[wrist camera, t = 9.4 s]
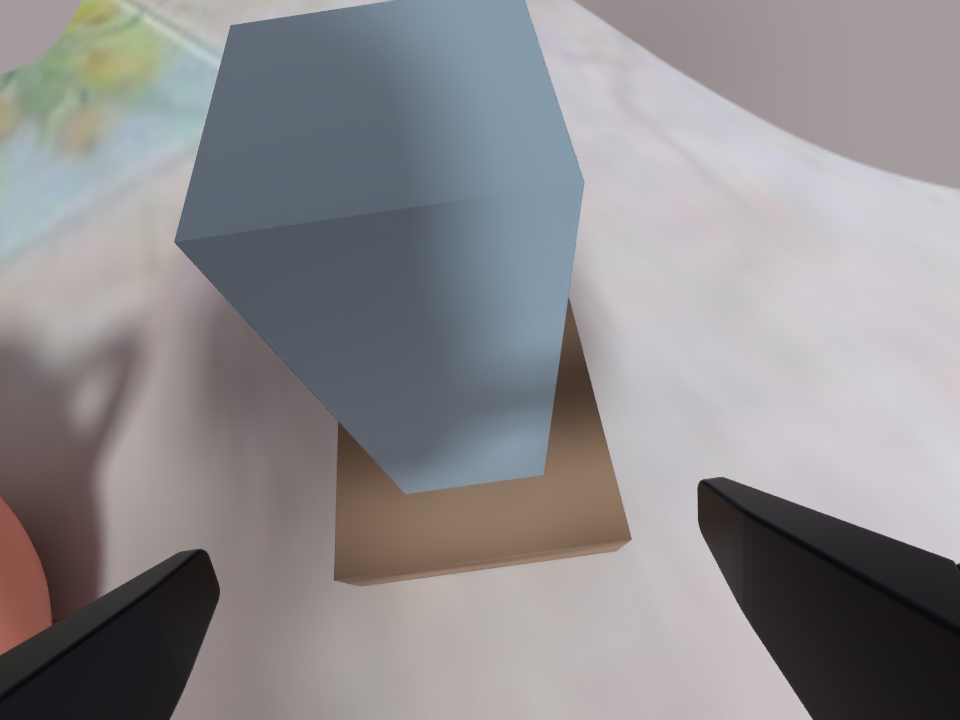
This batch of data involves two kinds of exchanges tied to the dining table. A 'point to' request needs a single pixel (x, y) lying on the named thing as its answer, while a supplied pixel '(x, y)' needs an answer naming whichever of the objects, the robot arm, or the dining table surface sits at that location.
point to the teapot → (20, 584)
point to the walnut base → (486, 501)
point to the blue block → (398, 225)
